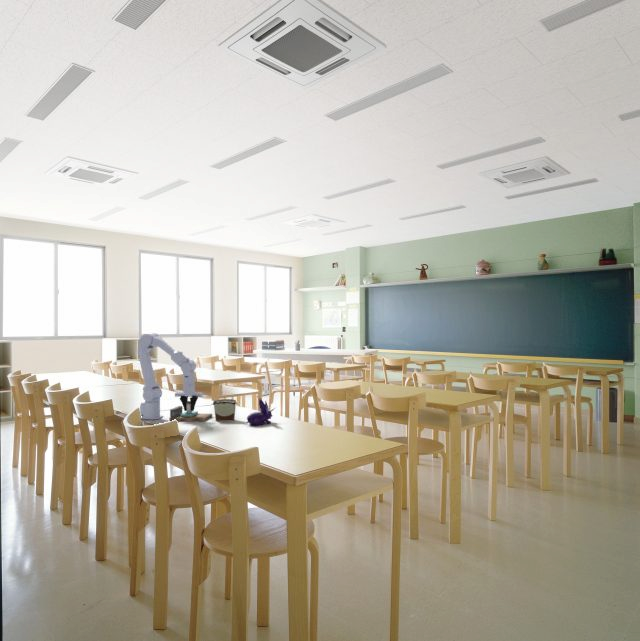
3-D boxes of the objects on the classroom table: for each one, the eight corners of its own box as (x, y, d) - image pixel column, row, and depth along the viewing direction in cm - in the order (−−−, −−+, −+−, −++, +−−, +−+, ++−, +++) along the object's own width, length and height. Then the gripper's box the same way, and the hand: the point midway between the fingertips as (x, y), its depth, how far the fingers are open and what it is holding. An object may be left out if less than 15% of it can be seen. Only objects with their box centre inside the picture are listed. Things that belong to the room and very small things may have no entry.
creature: (281, 422, 238) (281, 397, 238) (248, 428, 227) (248, 401, 227) (272, 419, 245) (271, 395, 245) (239, 425, 234) (239, 399, 234)
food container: (240, 418, 250) (239, 398, 250) (236, 420, 244) (236, 400, 243) (216, 418, 251) (216, 398, 251) (212, 420, 245) (212, 400, 245)
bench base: (169, 421, 245) (169, 409, 245) (179, 416, 257) (179, 405, 257) (203, 421, 243) (203, 410, 243) (212, 416, 255) (212, 406, 255)
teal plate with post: (180, 416, 247) (180, 402, 247) (187, 413, 255) (186, 400, 255) (191, 416, 246) (191, 402, 246) (197, 413, 254) (197, 400, 254)
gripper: (205, 383, 253) (205, 409, 253) (178, 383, 255) (179, 409, 255) (199, 385, 246) (200, 412, 246) (172, 385, 248) (173, 411, 248)
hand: (189, 410), depth 250 cm, fingers closed on teal plate with post, 3 cm apart
